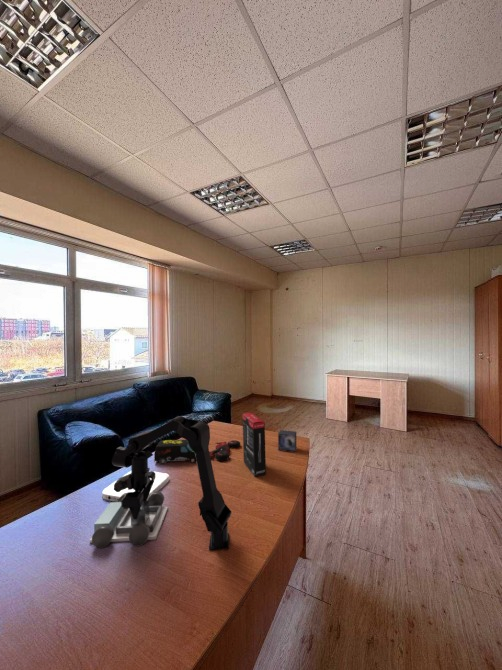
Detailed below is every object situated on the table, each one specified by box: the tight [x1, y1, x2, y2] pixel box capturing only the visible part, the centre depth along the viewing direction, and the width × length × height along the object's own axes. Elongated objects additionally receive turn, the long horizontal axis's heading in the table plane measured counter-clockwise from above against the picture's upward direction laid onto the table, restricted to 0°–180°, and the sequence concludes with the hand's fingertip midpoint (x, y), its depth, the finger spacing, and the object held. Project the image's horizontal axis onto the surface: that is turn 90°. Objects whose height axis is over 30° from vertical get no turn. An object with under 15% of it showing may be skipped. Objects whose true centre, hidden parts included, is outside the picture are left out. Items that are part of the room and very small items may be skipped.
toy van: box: [153, 439, 197, 465], centre depth 152 cm, size 11×25×10 cm, turn 93°
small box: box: [277, 429, 298, 453], centre depth 163 cm, size 11×6×10 cm, turn 73°
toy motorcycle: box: [209, 440, 241, 462], centre depth 161 cm, size 25×5×16 cm
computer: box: [102, 470, 170, 502], centre depth 123 cm, size 22×22×3 cm
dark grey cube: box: [131, 501, 150, 526], centre depth 99 cm, size 5×5×6 cm
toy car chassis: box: [89, 490, 169, 549], centre depth 99 cm, size 21×22×6 cm
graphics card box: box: [242, 412, 267, 477], centre depth 140 cm, size 17×7×27 cm, turn 22°
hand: (140, 510), depth 99 cm, fingers open, 9 cm apart
